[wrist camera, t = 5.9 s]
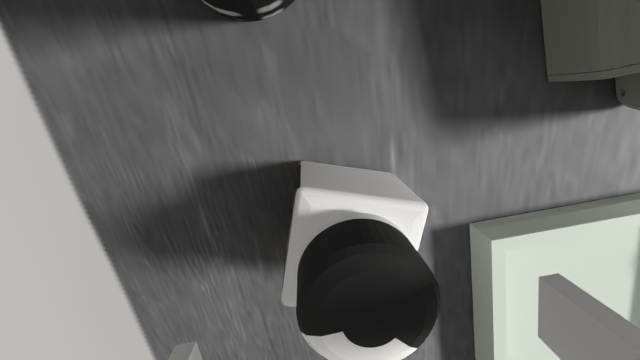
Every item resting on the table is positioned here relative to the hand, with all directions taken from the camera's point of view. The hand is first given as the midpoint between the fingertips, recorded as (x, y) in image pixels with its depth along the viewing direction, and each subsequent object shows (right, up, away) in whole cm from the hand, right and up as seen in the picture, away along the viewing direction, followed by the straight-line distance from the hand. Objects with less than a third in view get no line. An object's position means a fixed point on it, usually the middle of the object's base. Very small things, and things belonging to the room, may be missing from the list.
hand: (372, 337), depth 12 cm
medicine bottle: (-1, +4, +12) cm, 13 cm away
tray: (+19, -4, +15) cm, 24 cm away
